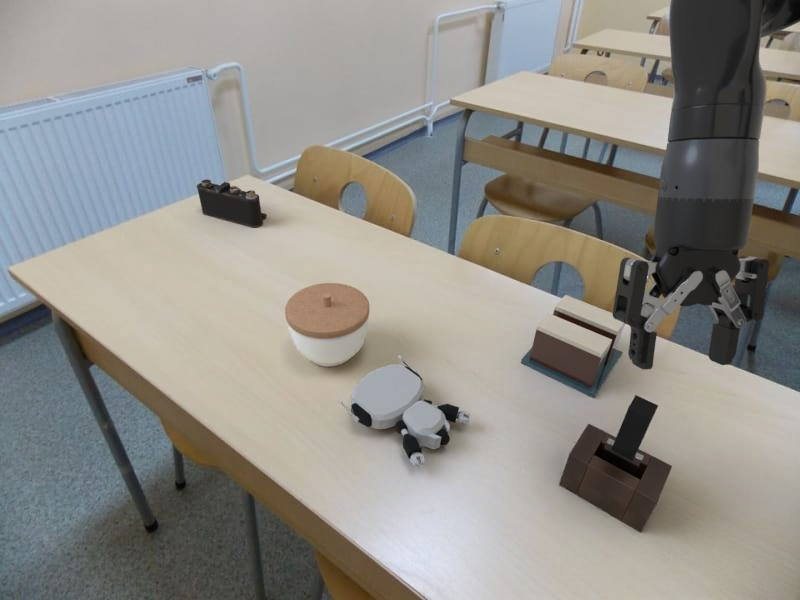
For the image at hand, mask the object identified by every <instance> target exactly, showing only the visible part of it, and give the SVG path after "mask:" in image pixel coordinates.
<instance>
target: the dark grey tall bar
mask: <svg viewBox="0 0 800 600" xmlns="http://www.w3.org/2000/svg"><path fill="white" fill-rule="evenodd" d="M658 408H659V405H658V404H656V403H655V402H652V401H649V400H648V399H645V398H643V397H641V396H639V395H637V394H635V395H634V397H633V399H632V400H631V402H630V404H629V406H628V408H627V410H626V412H625V415H624V417H623V420H622V422H621V425H620V426H619V429H618V432H617V434H616V436H615V437H616V439H615V441H614V440H612V439H610V438H609V439H608V441H607V442H606V445H605V448H604V450H603V453H602V455H601V459H603V460H604V461H606V462H608V463H610V464H612V465H614V466H616V467H618V468H619V469H621V470H623V471H625V472H627V473H629V474H631V475H632V476H635V474H636V472H637V470H638V468H639V466H640V464H641V461H642V459H643V457H644V456H643V455H641V454H639V453H637V451H638V449H640V447H641V445H642V442H643V440H644V438H645V436H646V434H647V431H648V430H649V427H650V425H651V423H652V421H653V418H654V416H655V414H656V412H657V410H658Z"/></svg>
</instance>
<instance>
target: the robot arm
mask: <svg viewBox="0 0 800 600" xmlns="http://www.w3.org/2000/svg"><path fill="white" fill-rule="evenodd" d="M668 16H669V17H668V18H669V19H668V28H669V29H668V31H669V47H670V48H669V49H670V65H671V73H672V79H673V98H672V102H671V111H670V118H669V124H668V125H669V126H668V134H667V143H666V148H665V153H664V156H663V160H662V164H661V168H660V169H661V170H660V176H659V184H658V194H657V201H656V210H655V217H654V218H655V219H654V227H653V235H652V240H653V242H654V247H655V252H654V254H653V257H652V258H651V260H643V259H637V258H634V257H633V258H632V257H629V256H626V257H624V258H622V260H621V261H620V265H619V271H618V277H617V284H616V289H615V296H614V303H613V307H612V313H613V317H614V318H615V319H616V320H619V321H621V322H623V323H625V325H628V326H629V328H630V335H629V336H630V337H629V345H628V358H629V360H631V362H632V364H633V365H634V366H636V367H638V368H639V369H641V370H651V369H652V368H653V367H654V358H655V349H656V342H657V334H658V333H657V332H656V331H655V330H656V329H657V328H658V327H659V325H660V324H661V323H662V322H663V320H664V319H665V318H666V317H668V316H669V315H673V314H674V313H675V311H676V310H677V309H678V308H679V307H680V306H681V307H691V306H694V305H700V306H708V308H709V309H710V311H711V313H712V315H713V316H714V318H715V320H716V321H717V323H715V322H714V323H713V324H712V330H711V337H710V343H709V349H708V358H709V360H710V361H711V362H713V363H716V364H719V365H720V366H730V365H731V364H732V363H733V359H734V358H735V356H736V355H737V349H738V343H739V337H740V332H741V329H742V328H744V327H745V325H746V324H747V323H749V322H751V321H755V322H759V321H761V320H762V319H763V317H764V314H765V304H766V296H767V286H768V280H769V279H768V278H769V269H770V261H769V260H768V259H767V258H761V257H758V256H751V255H749V256H748V255H741V256H739V250H742V249H744V248H745V247H746V246H747V245H748V238H749V233H750V226H751V221H752V214H753V207H754V201H755V194H756V187H757V182H758V176H759V168H760V139H761V135H762V128H763V121H764V115H765V107H766V101H767V93H768V92H767V91H768V90H767V89H768V88H767V86H768V85H767V79H766V75H765V72H764V70H763V67H762V66H761V61H760V49H761V41H762V38H765V37H769V36H771V35H774V34H776V33H778V32H781V31H783V30H785V29H787V28H790V27H792V26H795V25H796V24H799V23H800V0H670V4H669V15H668ZM651 277H652V278H651ZM652 279H653V282H652V283H651V284H650V286H649V287H648V288H646V285H647V283H649V282H651V281H652ZM733 281H734V287H733V284H732V282H733ZM661 296H662V297H663V298H660V297H661ZM748 300H749V305H748Z"/></svg>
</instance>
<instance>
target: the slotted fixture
mask: <svg viewBox="0 0 800 600" xmlns="http://www.w3.org/2000/svg"><path fill="white" fill-rule="evenodd" d="M625 325H626V323H623V322H621V321H619V320H616V319H615V318H614V317H613V312H611V311H608V310H606V309H603V308H600V307H598V306H595V305H593V304H590V303H588V302H586V301H583V300H580V299H578V298H575V297H572V296H570V295H567V294H565V295H564V296H563V297H562V298H561V299H560V300H559V301H558V302H557V303H556V304H555V306H554V309H553V313H552V314H551V313H550V312H548V313H546V315H545V316H544V317H543V318H542V319H541V321H540V322H539V323H538V324H537V325H536V328H535V333H534V338H533V342H532V346H531V347H530V349H529V350H528V351H527V352H526V353H525V354H524V356H523V357H522V358H521V359H520V364H523V365H525V366H526V367H529V368H530V369H532V370H535V371H537V372H538V373H541V374H543V375H546V376H548V377H549V378H551V379H554V380H556V381H557V382H560V383H561V384H563V385H566V386H568V387H570V388H572V389H574V390H577V391H578V392H580V393H582V394H585V395H587V396H589V397H590V398H593V399H595V398H596V396H597V395H598V393H599V391H600V390H601V389H602V387H603V386H604V384H605V382H606V381H607V379H608V378H609V376H610V374H612V372H613V370H614V369H615V367H616V365H617V364H618V363H619V361H620V359H621V358H622V357H623V354H624V351H621V350H619V349H617V348H618V345H619V342H620V339H621V337H622V334H623V331H624V328H625Z"/></svg>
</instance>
